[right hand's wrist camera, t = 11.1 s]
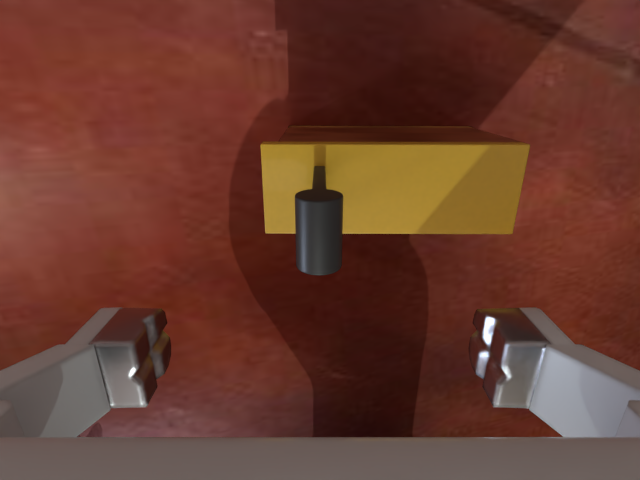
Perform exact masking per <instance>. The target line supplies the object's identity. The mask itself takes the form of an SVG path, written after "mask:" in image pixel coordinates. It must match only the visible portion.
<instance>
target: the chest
mask: <svg viewBox="0 0 640 480" xmlns="http://www.w3.org/2000/svg"><path fill="white" fill-rule="evenodd" d="M278 142H519V141H516V140H512V139H509V138H506V137H502V136H499V135H495V134H492V133H489V132H485V131H482V130H478V129H475V128H473V127H470V126H289V127H288V129H287V131H286V132H285V133H284V135H283V136H282V137H281V139H280V140H279V141H278Z"/></svg>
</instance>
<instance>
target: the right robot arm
mask: <svg viewBox="0 0 640 480" xmlns="http://www.w3.org/2000/svg"><path fill="white" fill-rule="evenodd" d="M166 324H167V319H166V315H165V312H164V311H163V310H162V309H160V308H102V309H100V310H99V311H98V312H97V313H96V314H95V315H94V316H93V317H92V318H91V319H90V320H89V321H88V322H87V323H86V324H85V325H84V326H83V327H82V328H81V329H80V330H79V331H78V332H77V333H76V334H75V335H74V336H73V337H72V338H71V339H70V340H69V341H68V342H67V343H66V344H65V345H56V346H54V347H52V348H50V349H48V350H45V351H43V352H41V353H39V354H37V355H34V356H32V357H30V358H28V359H25V360H23V361H21V362H19V363H17V364H14V365H12V366H10V367H8V368H6V369H3V370H1V371H0V480H640V371H639V370H637V369H634V368H632V367H630V366H628V365H625V364H623V363H621V362H619V361H617V360H614V359H612V358H610V357H608V356H606V355H603V354H601V353H599V352H597V351H595V350H592V349H590V348H588V347H586V346H584V345H575V344H574V343H573V342H572V341H571V340H570V339H569V338H568V337H567V336H566V335H565V334H564V333H563V332H562V331H561V330H560V329H559V328H558V327H557V326H556V325H555V324H554V323H553V322H552V321H551V320H550V319H549V318H548V317H547V316H546V315H545V314H544V312H543V311H542V310H541V309H538V308H536V307H532V308H503V309H477V310H476V312H475V314H474V319H473V324H474V326H475V327H476V329H477V331H476V332H475V333H474V334H473V335H472V336H471V337H470V343H469V357H470V362H471V365H472V368H473V370H474V372H475V374H477V375H478V376H480V377H481V378H483V379H484V381H483V389H484V390H485V392H486V394H487V396H488V398H489V399H490V401H491V403H492V405H493V407H510V408H530V409H529V410H530V411H532V412H533V413H534V414H535V415H537V416H538V417H539V418H541V419H542V420H543V421H544V422H546V423H547V424H548V425H549V426H551V427H552V428H553V429H554V430H556V431H557V432H558V433H559V434H561V435H562V436H563V437H77V436H78V435H79V434H81V433H82V432H83V431H84V430H86V429H87V428H88V427H90V426H91V425H92V424H93V423H95V422H96V421H97V420H98V419H100V418H101V417H102V416H103V415H105V414H106V413H107V412H108V411H110V408H129V407H147V405H148V403H149V401H150V400H151V398H152V396H153V394H154V392H155V390H156V389H157V381H156V379H157V378H159V377H160V376H162V375H163V374H165V372H166V370H167V368H168V366H169V361H170V357H171V342H170V337H169V336H168V335H167V334H166V333H165V332H164V331H163V329H164V328H165V326H166Z"/></svg>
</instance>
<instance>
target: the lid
mask: <svg viewBox="0 0 640 480" xmlns="http://www.w3.org/2000/svg"><path fill="white" fill-rule="evenodd" d="M529 149H530V145H529V144H526V143H523V142H262V143H261V163H262V182H263V200H264V218H265V233H296V266H297V268H298V269H299V270H300V271H302V272H304V273H307V274H311V275H327V274H332V273H334V272H336V271H338V270H339V269H340V268H341V266H342V234H512V233H513V228H514V223H515V218H516V213H517V208H518V203H519V198H520V194H521V189H522V184H523V179H524V174H525V169H526V164H527V159H528V154H529Z"/></svg>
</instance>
